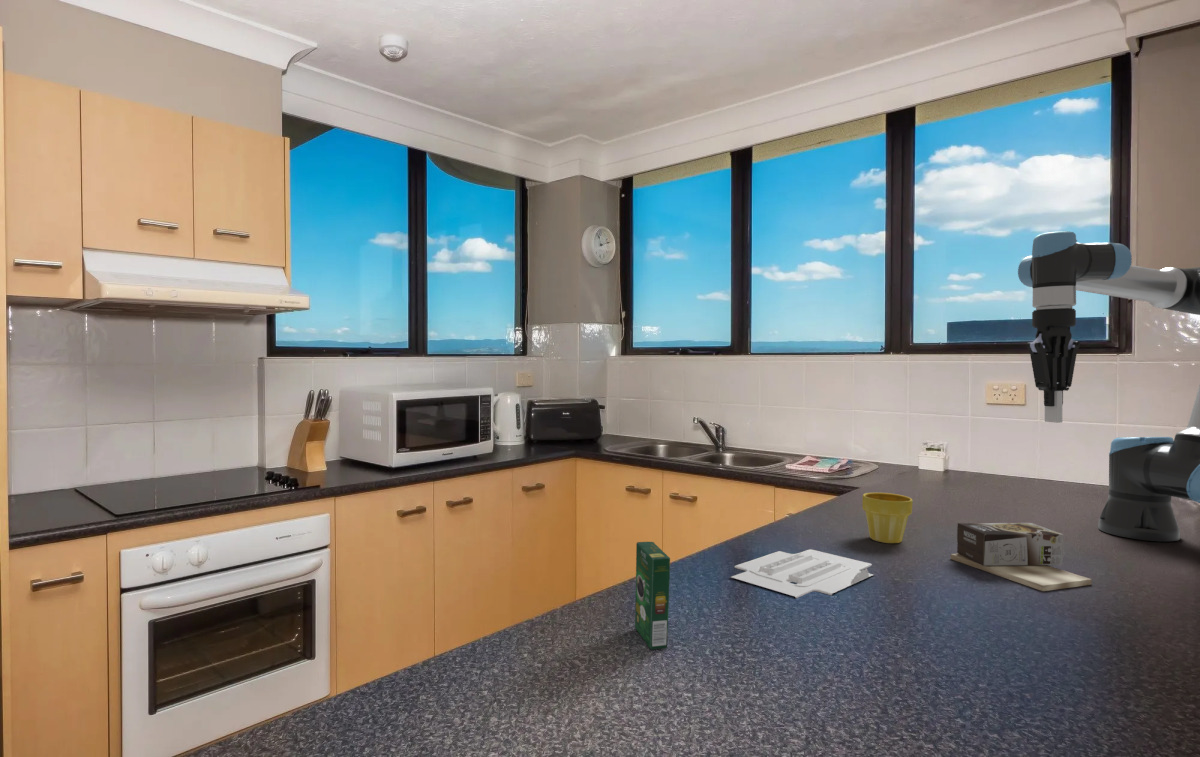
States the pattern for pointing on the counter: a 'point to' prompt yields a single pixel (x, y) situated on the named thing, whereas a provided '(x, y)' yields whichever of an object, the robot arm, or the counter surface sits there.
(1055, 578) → the birch board
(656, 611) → the coffee box
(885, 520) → the plant pot
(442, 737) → the counter surface
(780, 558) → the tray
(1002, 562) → the coffee box
